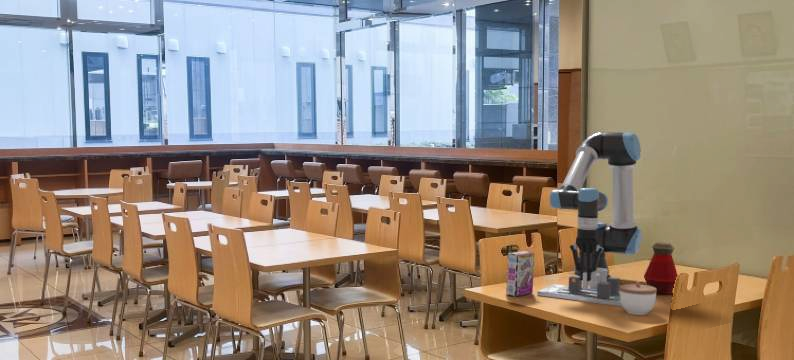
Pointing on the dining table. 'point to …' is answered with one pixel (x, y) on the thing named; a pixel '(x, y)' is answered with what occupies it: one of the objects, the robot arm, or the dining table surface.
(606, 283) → the block
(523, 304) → the dining table surface
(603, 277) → the cup
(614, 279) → the block
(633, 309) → the lidded bowl
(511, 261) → the candy bar box
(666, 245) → the bottle
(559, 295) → the panel
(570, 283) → the block
